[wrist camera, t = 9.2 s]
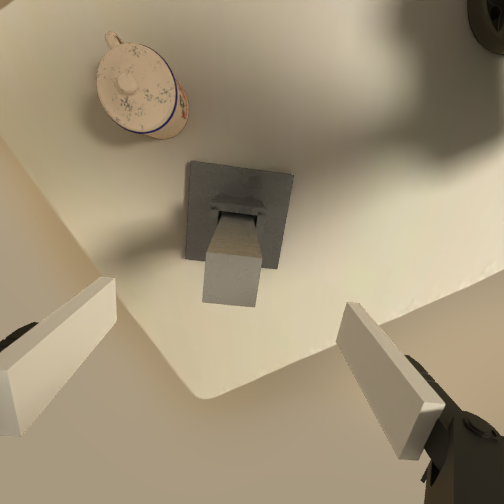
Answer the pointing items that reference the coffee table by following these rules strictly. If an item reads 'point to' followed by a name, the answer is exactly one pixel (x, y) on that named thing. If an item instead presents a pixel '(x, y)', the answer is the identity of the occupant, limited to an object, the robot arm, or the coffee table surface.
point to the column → (233, 262)
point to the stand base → (237, 206)
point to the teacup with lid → (140, 90)
